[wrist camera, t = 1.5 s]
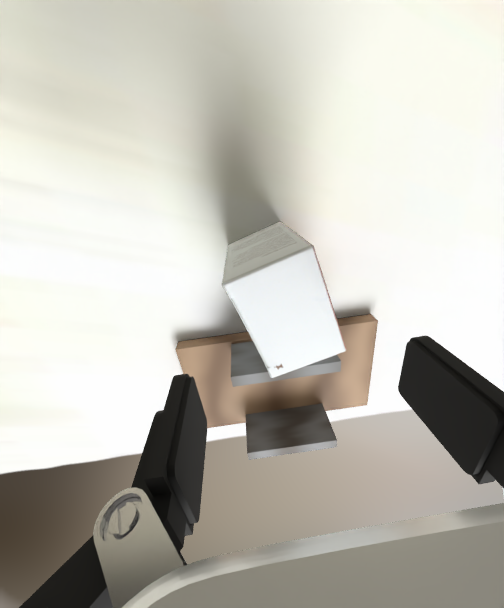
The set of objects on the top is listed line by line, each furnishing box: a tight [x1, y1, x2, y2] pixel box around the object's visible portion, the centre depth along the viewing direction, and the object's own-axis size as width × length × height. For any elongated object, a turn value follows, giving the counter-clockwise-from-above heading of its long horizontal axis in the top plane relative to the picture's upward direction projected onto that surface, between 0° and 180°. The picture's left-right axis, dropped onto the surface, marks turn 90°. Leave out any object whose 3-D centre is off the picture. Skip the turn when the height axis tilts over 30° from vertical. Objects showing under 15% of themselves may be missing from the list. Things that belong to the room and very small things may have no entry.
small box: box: [222, 221, 346, 378], centre depth 19 cm, size 8×6×10 cm
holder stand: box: [176, 314, 378, 460], centre depth 27 cm, size 22×13×6 cm, turn 97°
